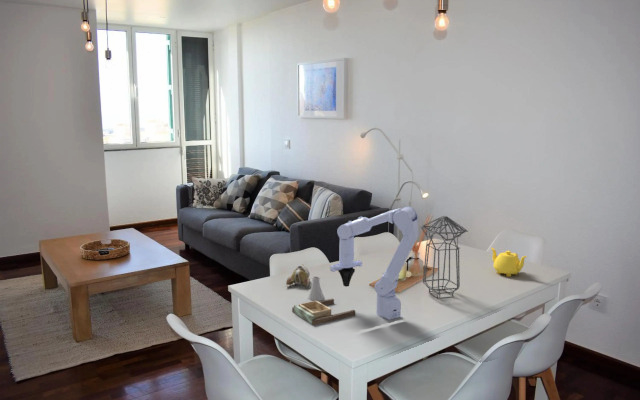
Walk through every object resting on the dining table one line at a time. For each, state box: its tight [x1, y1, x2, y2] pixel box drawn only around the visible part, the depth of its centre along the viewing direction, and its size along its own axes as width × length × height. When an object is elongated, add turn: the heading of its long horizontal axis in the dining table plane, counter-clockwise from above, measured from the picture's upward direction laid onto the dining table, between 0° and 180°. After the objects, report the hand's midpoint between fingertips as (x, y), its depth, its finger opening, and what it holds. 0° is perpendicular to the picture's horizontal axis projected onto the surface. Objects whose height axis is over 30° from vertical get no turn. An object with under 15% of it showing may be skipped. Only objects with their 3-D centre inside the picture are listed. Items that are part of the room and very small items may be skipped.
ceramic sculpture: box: [286, 264, 311, 287], centre depth 247 cm, size 11×9×15 cm
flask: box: [307, 276, 325, 302], centre depth 225 cm, size 7×7×10 cm
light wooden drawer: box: [298, 300, 332, 319], centre depth 207 cm, size 11×8×4 cm
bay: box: [291, 298, 356, 326], centre depth 209 cm, size 16×19×4 cm
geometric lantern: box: [420, 215, 469, 299], centre depth 231 cm, size 16×16×35 cm
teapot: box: [490, 247, 528, 278], centre depth 264 cm, size 20×15×12 cm
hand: (346, 285), depth 216 cm, fingers closed
